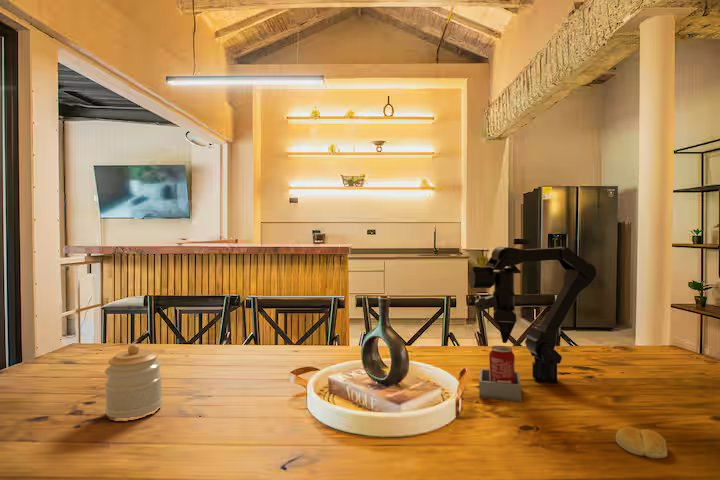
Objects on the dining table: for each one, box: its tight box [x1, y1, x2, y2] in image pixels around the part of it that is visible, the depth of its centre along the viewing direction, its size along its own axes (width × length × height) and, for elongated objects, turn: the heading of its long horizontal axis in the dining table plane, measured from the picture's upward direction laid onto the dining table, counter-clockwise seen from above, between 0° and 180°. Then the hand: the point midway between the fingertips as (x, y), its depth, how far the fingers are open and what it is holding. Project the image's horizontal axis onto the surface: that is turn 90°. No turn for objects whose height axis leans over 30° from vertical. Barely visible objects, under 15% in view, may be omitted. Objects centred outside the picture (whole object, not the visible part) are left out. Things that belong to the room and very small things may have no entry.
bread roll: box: [615, 425, 668, 459], centre depth 86 cm, size 8×9×4 cm
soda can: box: [488, 345, 516, 384], centre depth 116 cm, size 7×7×12 cm
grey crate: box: [478, 368, 522, 403], centre depth 117 cm, size 11×11×4 cm
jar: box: [104, 343, 163, 418], centre depth 107 cm, size 13×13×18 cm
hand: (504, 339), depth 125 cm, fingers open, 9 cm apart
